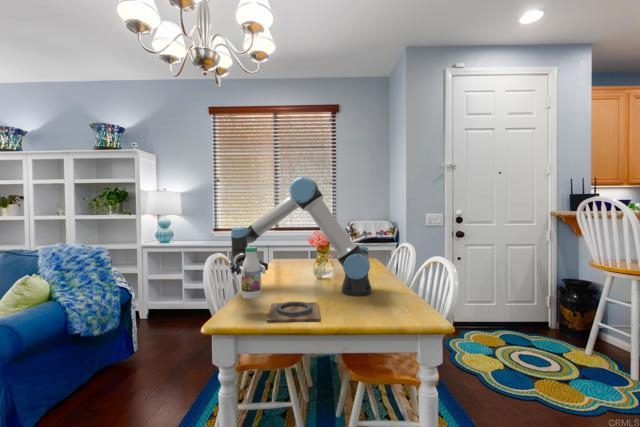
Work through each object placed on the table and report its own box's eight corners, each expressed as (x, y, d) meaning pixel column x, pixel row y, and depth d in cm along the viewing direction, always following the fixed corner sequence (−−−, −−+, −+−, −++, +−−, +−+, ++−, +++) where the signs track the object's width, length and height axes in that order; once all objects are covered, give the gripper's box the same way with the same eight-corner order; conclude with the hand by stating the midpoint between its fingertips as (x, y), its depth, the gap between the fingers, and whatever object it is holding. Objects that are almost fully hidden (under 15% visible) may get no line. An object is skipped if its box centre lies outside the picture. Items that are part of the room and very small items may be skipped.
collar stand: (317, 304, 140) (317, 299, 139) (320, 321, 120) (320, 314, 120) (271, 305, 138) (271, 299, 138) (266, 322, 118) (266, 315, 118)
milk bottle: (244, 293, 132) (244, 245, 131) (263, 293, 132) (262, 246, 131) (239, 299, 124) (239, 248, 124) (258, 299, 124) (258, 248, 123)
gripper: (265, 268, 148) (279, 278, 127) (220, 272, 140) (227, 284, 119) (265, 252, 148) (279, 260, 127) (219, 255, 140) (226, 264, 119)
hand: (254, 271), depth 123 cm, fingers closed on milk bottle, 8 cm apart
